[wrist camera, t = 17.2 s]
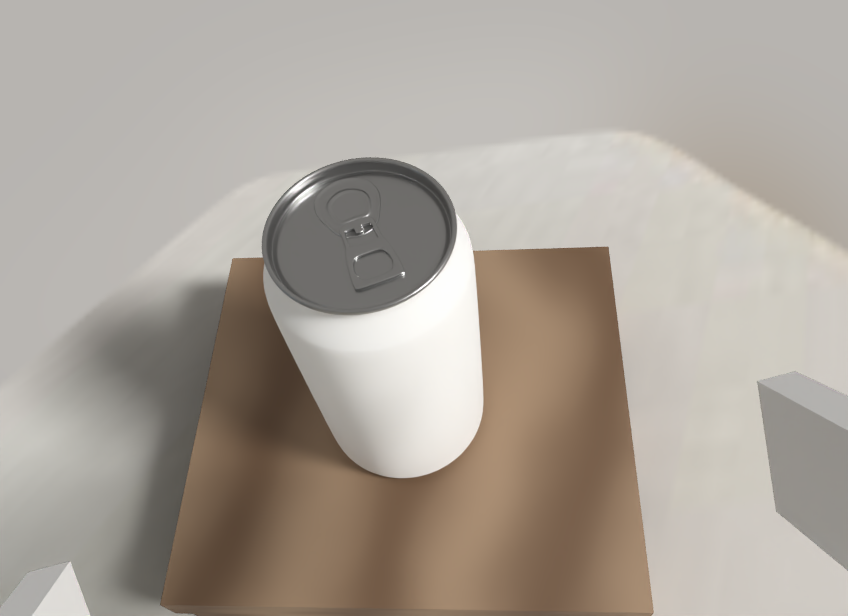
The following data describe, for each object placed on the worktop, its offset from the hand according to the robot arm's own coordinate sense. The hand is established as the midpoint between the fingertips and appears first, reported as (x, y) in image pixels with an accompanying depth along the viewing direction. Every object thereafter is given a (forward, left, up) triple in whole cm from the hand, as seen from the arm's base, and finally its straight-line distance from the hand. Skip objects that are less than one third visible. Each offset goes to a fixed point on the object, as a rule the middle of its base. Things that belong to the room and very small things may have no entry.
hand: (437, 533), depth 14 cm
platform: (-3, +9, -18) cm, 21 cm away
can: (-3, +9, -15) cm, 18 cm away
